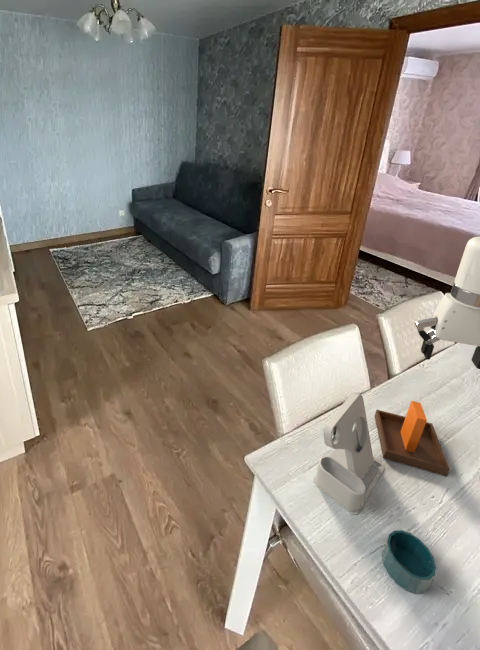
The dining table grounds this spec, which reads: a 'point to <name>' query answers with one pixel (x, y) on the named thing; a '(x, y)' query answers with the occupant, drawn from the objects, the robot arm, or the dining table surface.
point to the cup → (408, 561)
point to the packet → (413, 426)
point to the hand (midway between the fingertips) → (450, 360)
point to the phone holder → (348, 457)
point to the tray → (426, 451)
